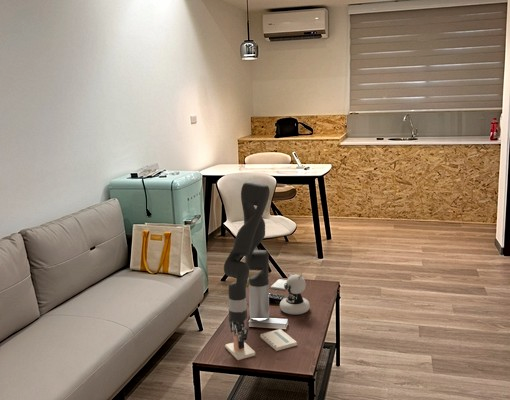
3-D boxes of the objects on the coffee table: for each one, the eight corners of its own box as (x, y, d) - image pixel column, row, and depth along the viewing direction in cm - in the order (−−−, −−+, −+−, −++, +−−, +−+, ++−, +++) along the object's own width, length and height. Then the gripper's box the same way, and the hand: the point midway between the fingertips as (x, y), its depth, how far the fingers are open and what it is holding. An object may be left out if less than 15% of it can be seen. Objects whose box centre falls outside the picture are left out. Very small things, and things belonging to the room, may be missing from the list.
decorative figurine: (273, 309, 262) (273, 270, 257) (295, 301, 270) (295, 264, 266) (293, 319, 250) (293, 279, 246) (316, 310, 259) (316, 271, 254)
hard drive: (284, 288, 284) (292, 280, 295) (270, 286, 288) (278, 278, 299) (284, 291, 285) (292, 283, 296) (270, 289, 288) (278, 281, 299)
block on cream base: (225, 347, 224) (224, 331, 223) (242, 343, 228) (242, 327, 226) (237, 360, 214) (237, 343, 212) (255, 355, 217) (254, 338, 216)
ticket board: (260, 337, 233) (260, 333, 232) (280, 332, 237) (280, 328, 237) (276, 350, 221) (276, 347, 220) (296, 345, 225) (296, 341, 225)
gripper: (222, 303, 221) (223, 341, 225) (236, 316, 208) (238, 355, 212) (238, 299, 224) (239, 336, 228) (253, 311, 212) (254, 351, 216)
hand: (238, 345), depth 220 cm, fingers closed on block on cream base, 4 cm apart
